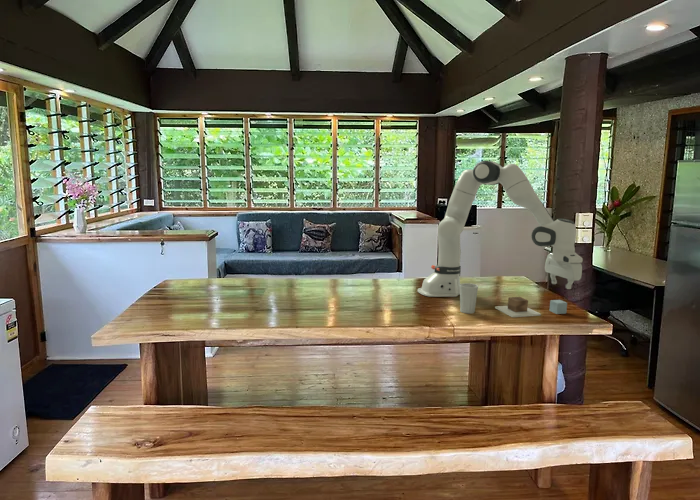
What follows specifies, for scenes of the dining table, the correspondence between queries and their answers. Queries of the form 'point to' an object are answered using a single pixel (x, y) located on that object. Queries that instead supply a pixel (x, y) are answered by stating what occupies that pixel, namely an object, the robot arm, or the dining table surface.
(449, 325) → the dining table surface
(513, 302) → the walnut block
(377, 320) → the dining table surface
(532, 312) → the plate
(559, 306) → the grey cube
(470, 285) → the cup
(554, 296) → the dining table surface
